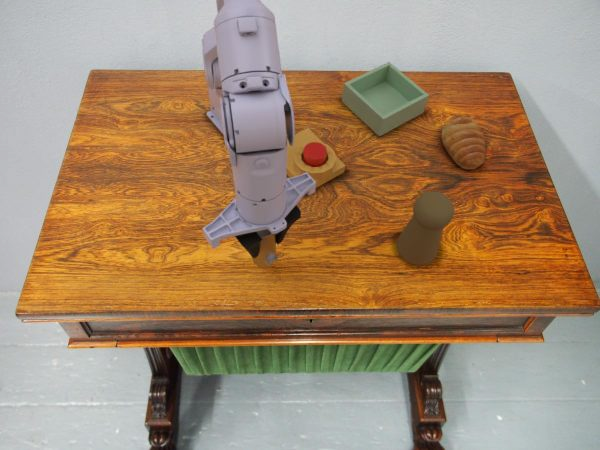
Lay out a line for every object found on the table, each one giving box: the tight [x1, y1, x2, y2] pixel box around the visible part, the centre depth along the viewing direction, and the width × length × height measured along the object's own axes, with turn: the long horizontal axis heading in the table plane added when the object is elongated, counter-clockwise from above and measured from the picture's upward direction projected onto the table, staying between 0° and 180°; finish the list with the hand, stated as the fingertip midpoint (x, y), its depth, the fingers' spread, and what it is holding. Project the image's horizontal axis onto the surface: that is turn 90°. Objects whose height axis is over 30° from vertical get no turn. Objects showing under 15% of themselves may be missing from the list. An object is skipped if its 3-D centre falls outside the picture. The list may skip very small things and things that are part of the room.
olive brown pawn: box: [395, 190, 455, 266], centre depth 68 cm, size 6×6×11 cm
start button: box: [303, 142, 327, 167], centre depth 76 cm, size 4×4×2 cm
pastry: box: [440, 116, 487, 170], centre depth 82 cm, size 9×7×4 cm
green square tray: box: [341, 61, 430, 137], centre depth 87 cm, size 10×10×4 cm
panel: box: [286, 127, 346, 188], centre depth 79 cm, size 10×8×4 cm
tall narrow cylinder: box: [252, 229, 279, 269], centre depth 65 cm, size 4×3×8 cm
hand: (263, 245), depth 65 cm, fingers closed on tall narrow cylinder, 3 cm apart
